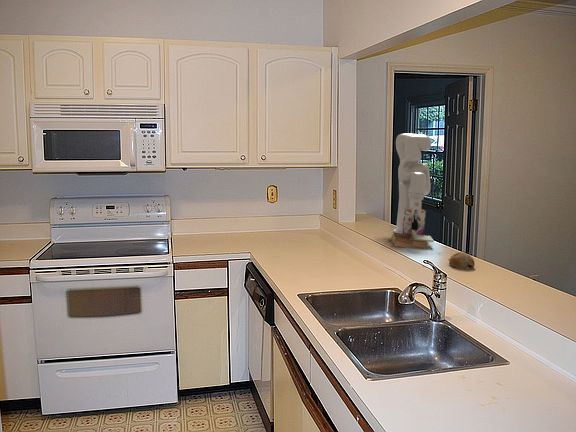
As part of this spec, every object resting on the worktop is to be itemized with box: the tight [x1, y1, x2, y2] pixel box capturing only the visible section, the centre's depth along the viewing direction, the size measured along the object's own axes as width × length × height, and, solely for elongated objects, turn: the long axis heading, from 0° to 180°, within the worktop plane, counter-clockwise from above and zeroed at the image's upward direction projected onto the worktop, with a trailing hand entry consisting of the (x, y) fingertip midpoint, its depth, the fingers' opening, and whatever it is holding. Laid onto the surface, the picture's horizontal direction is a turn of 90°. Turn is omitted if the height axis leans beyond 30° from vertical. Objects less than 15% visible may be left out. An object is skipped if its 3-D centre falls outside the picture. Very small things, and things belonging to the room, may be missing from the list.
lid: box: [412, 230, 435, 243], centre depth 273 cm, size 14×10×3 cm
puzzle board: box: [391, 233, 429, 250], centre depth 274 cm, size 18×16×4 cm
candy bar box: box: [402, 208, 427, 235], centre depth 286 cm, size 11×5×16 cm, turn 84°
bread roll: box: [447, 251, 475, 270], centre depth 229 cm, size 10×10×8 cm
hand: (413, 228), depth 286 cm, fingers open, 9 cm apart
